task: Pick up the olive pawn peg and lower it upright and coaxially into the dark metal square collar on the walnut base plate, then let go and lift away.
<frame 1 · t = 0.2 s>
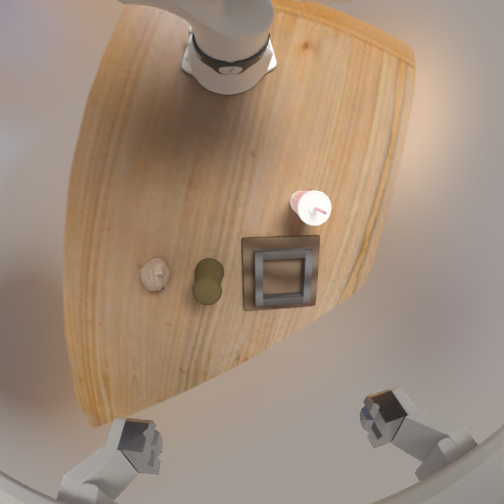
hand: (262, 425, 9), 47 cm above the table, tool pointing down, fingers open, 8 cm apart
socket base: (280, 272, 58), on the table
olive pawn peg: (209, 271, 57), on the table
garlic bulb: (158, 268, 56), on the table
beverage cup: (300, 201, 54), on the table
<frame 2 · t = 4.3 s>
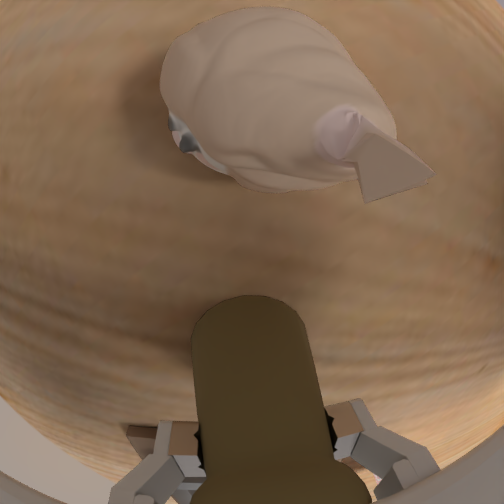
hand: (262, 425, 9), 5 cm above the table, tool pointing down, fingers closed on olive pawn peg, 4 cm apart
socket base: (248, 473, 18), on the table
olive pawn peg: (249, 345, 14), on the table, touching gripper
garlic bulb: (258, 115, 11), on the table
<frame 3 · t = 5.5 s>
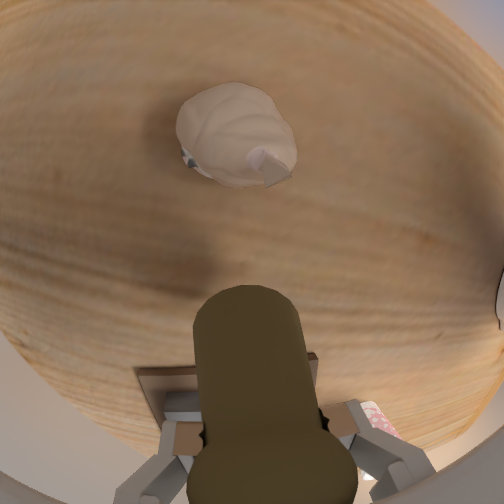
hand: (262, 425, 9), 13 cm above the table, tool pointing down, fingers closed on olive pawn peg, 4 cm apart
socket base: (235, 418, 25), on the table
olive pawn peg: (247, 332, 15), point 6 cm above the table, touching gripper
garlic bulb: (232, 141, 18), on the table
beverage cup: (359, 412, 28), on the table
when the fingers open (7 cm above the table, at t = 9.7 s): olive pawn peg stays where it is, resting on socket base.
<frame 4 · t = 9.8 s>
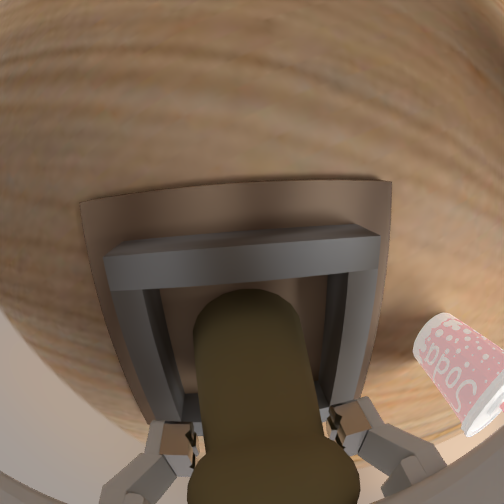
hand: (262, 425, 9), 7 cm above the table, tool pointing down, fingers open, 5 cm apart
socket base: (246, 326, 15), on the table
olive pawn peg: (247, 336, 15), point 1 cm above the table, touching socket base
beverage cup: (432, 335, 18), on the table
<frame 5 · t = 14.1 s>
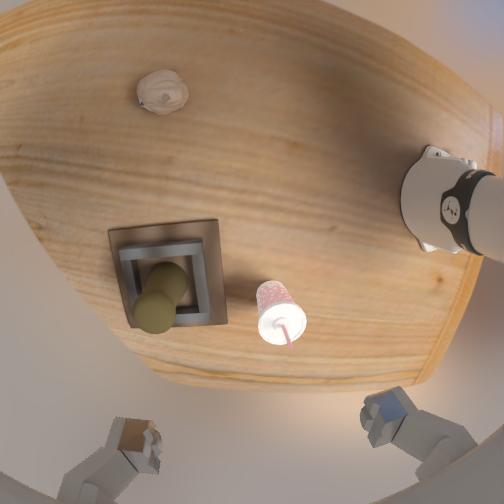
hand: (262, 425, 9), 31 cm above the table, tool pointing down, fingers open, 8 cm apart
socket base: (169, 277, 39), on the table
olive pawn peg: (168, 280, 38), point 1 cm above the table, touching socket base
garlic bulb: (167, 97, 32), on the table
beverage cup: (271, 293, 42), on the table
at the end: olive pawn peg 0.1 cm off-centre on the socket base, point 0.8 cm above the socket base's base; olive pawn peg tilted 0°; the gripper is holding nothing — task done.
